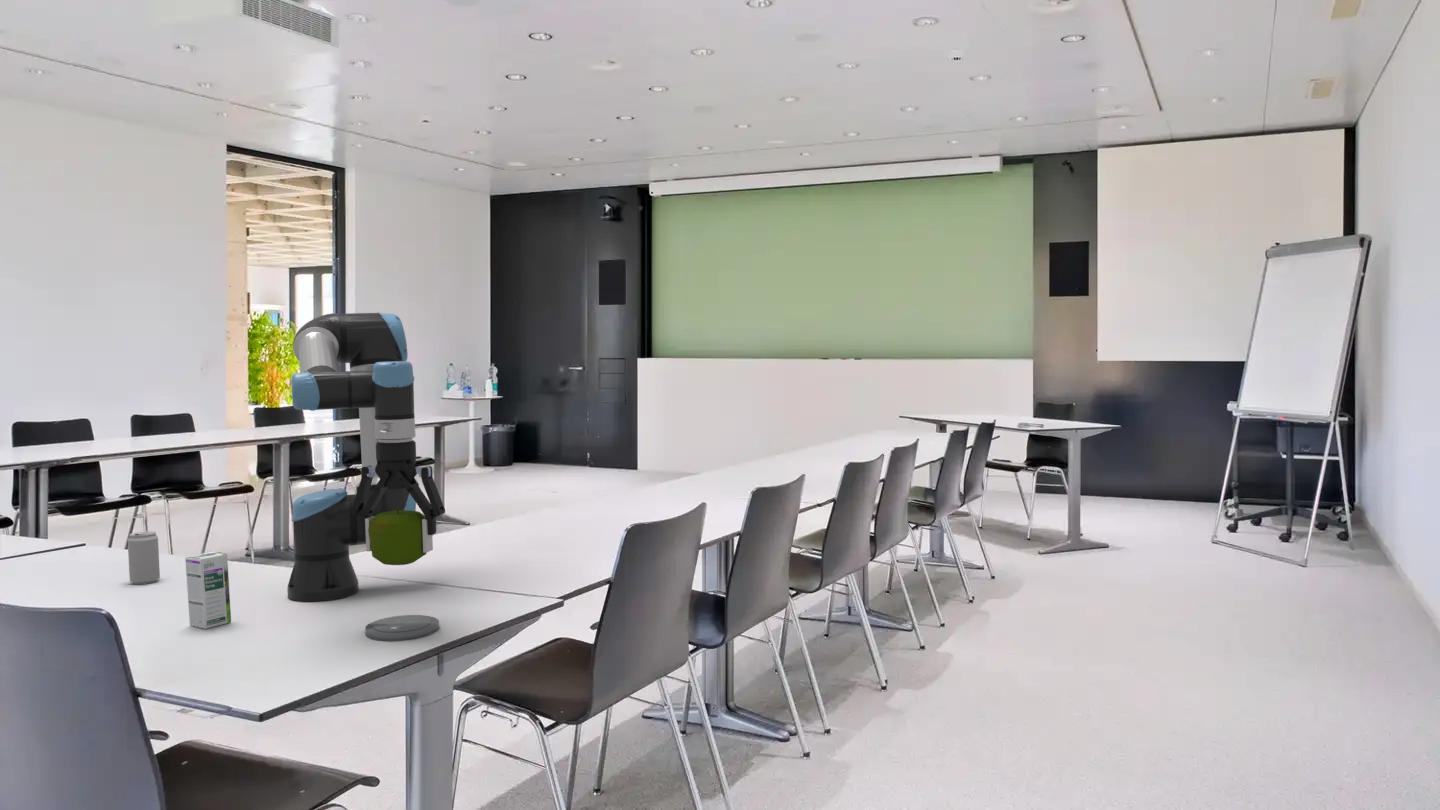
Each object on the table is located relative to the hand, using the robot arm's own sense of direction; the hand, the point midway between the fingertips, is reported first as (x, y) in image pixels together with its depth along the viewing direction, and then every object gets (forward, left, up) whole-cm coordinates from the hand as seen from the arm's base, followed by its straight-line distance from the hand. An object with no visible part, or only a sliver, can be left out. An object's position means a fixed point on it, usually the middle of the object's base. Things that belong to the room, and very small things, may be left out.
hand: (399, 550), depth 203 cm
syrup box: (-42, 0, -16) cm, 45 cm away
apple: (0, 0, -2) cm, 2 cm away
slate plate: (0, 0, -16) cm, 16 cm away
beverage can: (-82, +32, -16) cm, 89 cm away
